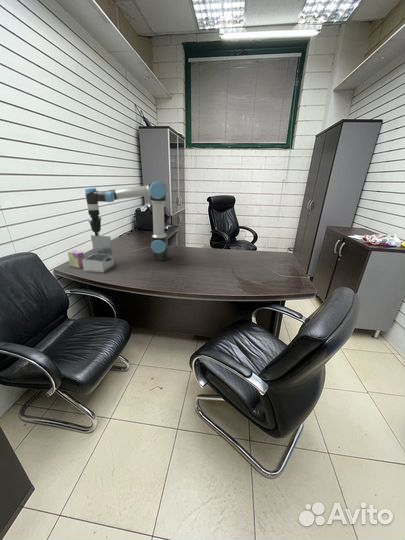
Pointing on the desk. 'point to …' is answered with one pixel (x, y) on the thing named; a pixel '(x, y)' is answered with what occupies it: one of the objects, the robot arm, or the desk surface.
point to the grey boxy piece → (98, 263)
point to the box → (76, 258)
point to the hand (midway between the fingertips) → (98, 239)
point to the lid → (102, 245)
